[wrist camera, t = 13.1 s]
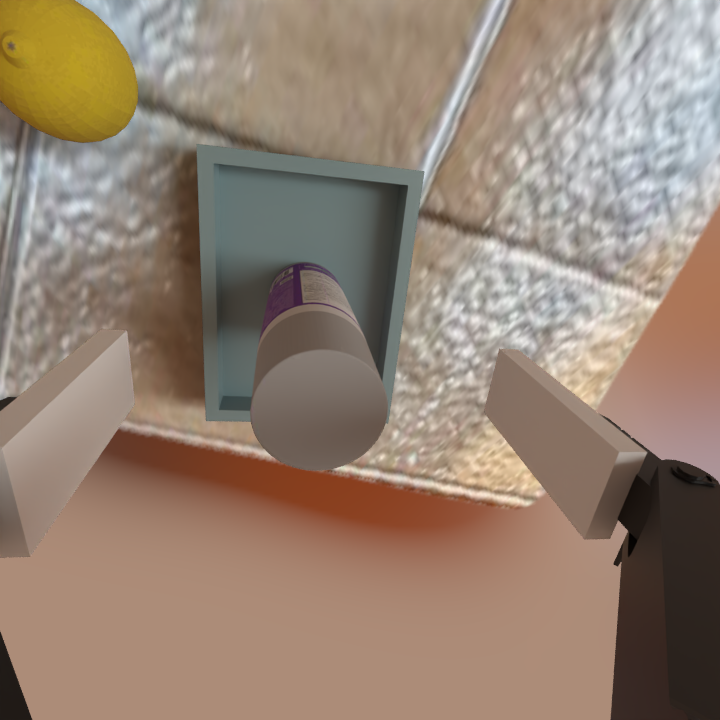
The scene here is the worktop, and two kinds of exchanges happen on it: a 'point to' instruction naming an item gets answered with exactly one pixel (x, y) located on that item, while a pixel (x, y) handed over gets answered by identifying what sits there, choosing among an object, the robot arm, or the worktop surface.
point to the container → (314, 375)
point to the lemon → (64, 70)
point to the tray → (297, 254)
